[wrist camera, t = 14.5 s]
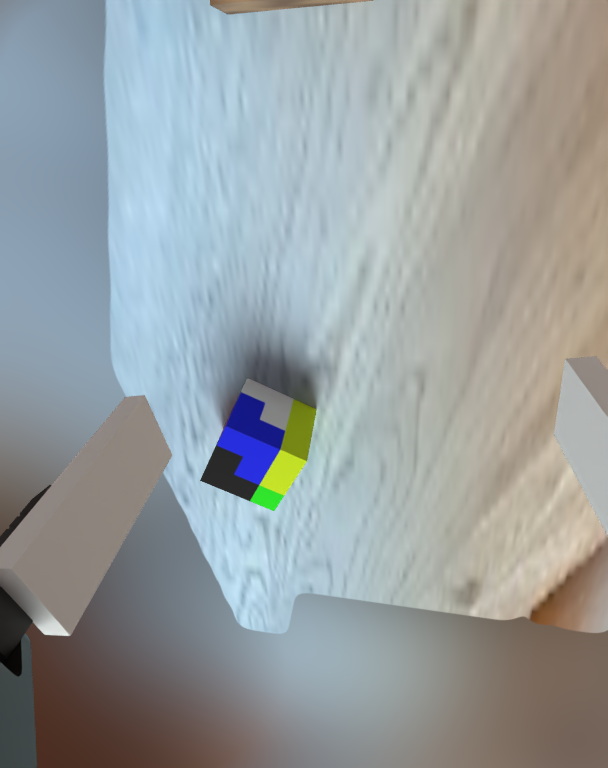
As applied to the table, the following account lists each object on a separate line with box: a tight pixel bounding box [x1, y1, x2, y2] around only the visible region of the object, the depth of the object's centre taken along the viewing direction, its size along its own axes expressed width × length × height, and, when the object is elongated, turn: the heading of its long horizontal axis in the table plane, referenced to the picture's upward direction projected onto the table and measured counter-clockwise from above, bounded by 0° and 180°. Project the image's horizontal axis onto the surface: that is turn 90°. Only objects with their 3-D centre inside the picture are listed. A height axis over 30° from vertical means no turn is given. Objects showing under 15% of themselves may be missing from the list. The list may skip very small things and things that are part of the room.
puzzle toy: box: [200, 378, 316, 511], centre depth 56 cm, size 10×10×10 cm
